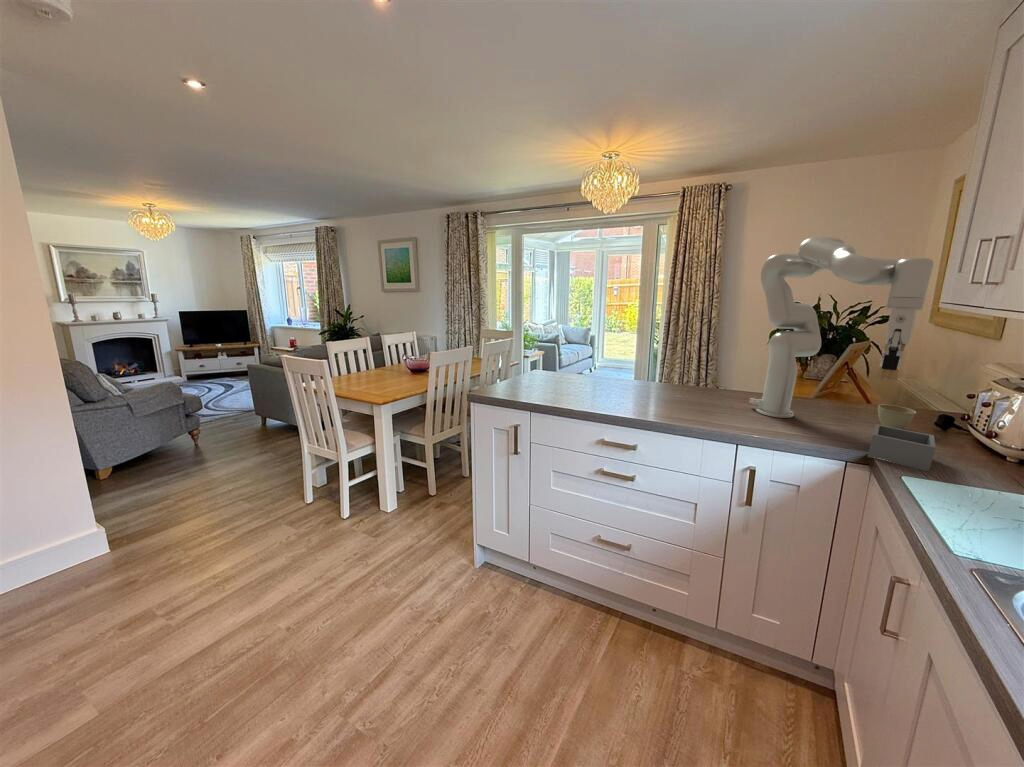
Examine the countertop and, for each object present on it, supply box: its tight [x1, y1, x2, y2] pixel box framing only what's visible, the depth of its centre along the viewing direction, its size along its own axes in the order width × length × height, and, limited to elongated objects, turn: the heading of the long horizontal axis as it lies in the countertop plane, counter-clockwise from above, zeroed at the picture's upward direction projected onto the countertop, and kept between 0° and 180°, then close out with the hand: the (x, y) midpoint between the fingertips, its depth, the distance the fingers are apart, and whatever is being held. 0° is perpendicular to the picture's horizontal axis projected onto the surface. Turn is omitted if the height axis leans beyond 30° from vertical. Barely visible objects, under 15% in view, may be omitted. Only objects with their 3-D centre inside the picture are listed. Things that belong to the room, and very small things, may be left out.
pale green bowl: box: [877, 404, 917, 430], centre depth 148 cm, size 10×10×7 cm
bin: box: [867, 423, 937, 472], centre depth 122 cm, size 13×13×7 cm
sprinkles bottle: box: [876, 332, 906, 381], centre depth 120 cm, size 5×5×14 cm
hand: (889, 367), depth 121 cm, fingers closed on sprinkles bottle, 4 cm apart
